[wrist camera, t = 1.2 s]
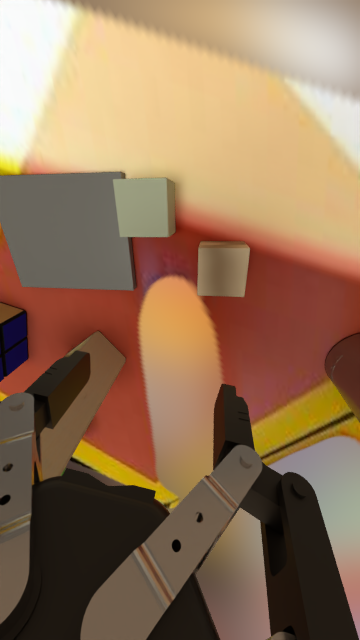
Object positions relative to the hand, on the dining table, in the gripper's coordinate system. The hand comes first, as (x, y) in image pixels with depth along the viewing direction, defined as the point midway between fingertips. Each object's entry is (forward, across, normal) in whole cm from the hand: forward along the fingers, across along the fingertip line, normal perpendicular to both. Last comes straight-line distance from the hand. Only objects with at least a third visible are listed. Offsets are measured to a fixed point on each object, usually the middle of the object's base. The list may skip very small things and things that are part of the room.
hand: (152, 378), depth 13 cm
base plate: (+18, +16, -3) cm, 24 cm away
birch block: (+18, -4, -4) cm, 19 cm away
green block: (+18, +5, -8) cm, 21 cm away
